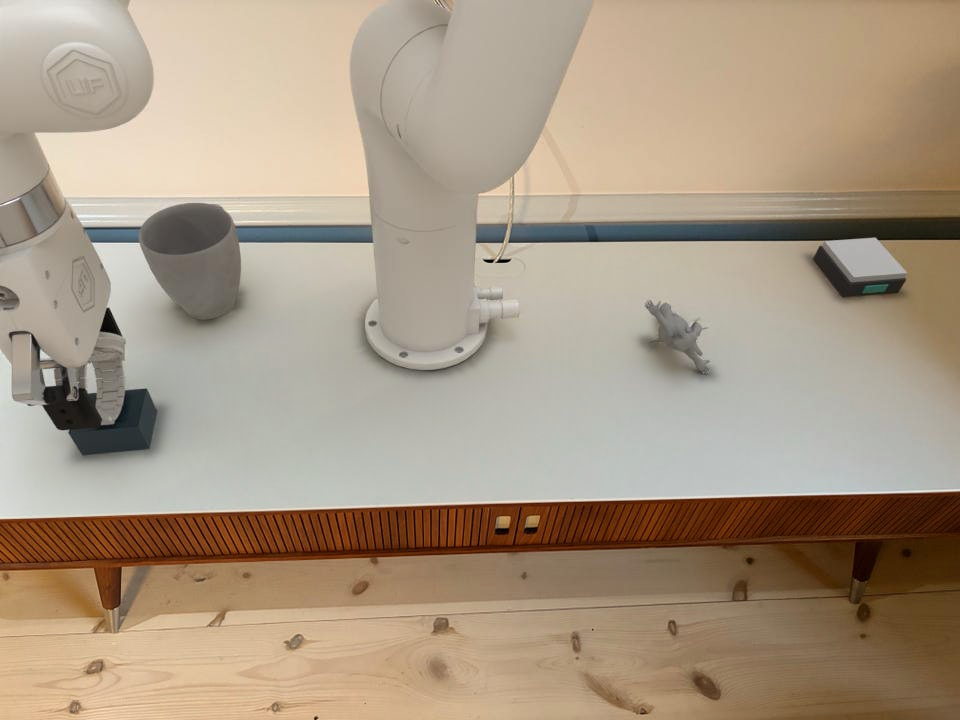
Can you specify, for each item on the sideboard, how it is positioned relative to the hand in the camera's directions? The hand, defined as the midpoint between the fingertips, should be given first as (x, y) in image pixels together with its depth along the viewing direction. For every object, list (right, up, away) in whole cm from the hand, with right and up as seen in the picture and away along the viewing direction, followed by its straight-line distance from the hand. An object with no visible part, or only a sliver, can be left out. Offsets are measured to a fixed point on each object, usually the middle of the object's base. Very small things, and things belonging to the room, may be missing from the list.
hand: (93, 382), depth 57 cm
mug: (+3, +9, +18) cm, 20 cm away
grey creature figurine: (+51, +3, +15) cm, 53 cm away
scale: (+76, +12, +24) cm, 81 cm away
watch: (0, -5, +5) cm, 7 cm away
